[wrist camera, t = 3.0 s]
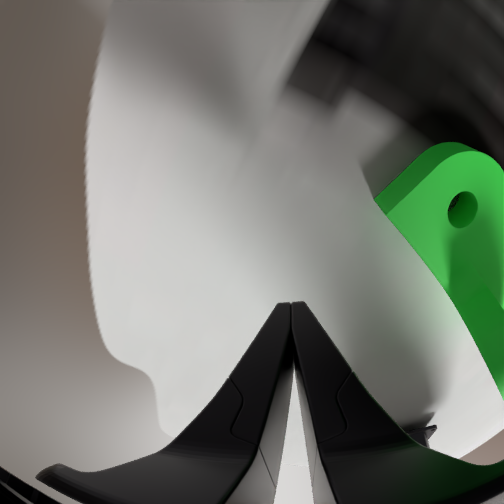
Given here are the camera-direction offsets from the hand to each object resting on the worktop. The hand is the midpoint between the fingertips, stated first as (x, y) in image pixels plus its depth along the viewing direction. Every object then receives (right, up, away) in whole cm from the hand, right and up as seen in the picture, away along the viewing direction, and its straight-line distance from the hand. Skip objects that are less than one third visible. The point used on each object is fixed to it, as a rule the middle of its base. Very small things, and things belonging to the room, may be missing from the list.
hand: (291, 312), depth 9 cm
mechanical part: (+11, +3, +4) cm, 12 cm away
